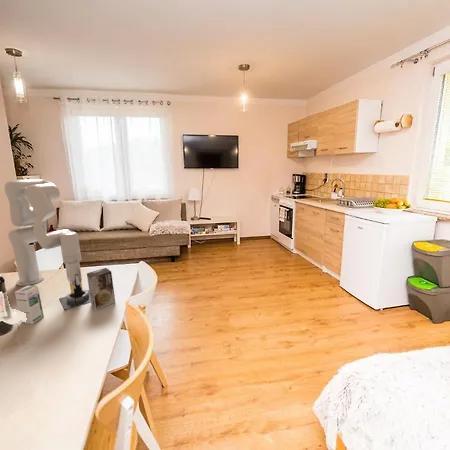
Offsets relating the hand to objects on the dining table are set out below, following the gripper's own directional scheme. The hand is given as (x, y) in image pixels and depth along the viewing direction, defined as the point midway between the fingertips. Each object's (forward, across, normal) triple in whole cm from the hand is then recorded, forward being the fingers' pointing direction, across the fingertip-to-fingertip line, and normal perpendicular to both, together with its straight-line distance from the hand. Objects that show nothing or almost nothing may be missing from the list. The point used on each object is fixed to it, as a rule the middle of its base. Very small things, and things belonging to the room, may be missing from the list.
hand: (77, 293), depth 131 cm
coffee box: (+4, +13, +8) cm, 16 cm away
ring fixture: (+3, 0, 0) cm, 3 cm away
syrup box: (+4, +7, -19) cm, 21 cm away
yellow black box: (+2, 0, 0) cm, 2 cm away
